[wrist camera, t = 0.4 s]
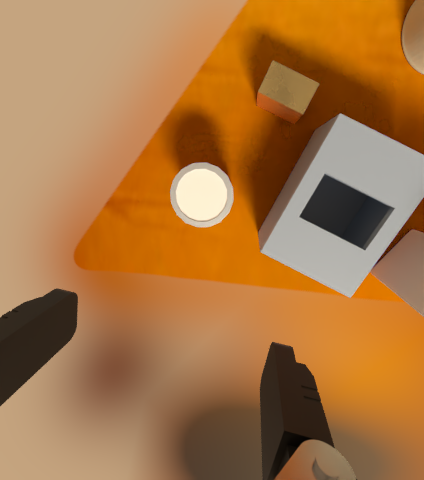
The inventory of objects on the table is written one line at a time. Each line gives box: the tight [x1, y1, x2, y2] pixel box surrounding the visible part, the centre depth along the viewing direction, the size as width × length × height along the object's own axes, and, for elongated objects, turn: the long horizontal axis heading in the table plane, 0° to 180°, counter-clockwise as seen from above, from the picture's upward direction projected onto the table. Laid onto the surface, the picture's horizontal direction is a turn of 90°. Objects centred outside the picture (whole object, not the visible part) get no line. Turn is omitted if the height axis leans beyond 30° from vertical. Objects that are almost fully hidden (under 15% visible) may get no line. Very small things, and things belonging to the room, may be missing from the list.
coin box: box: [258, 113, 424, 298], centre depth 29 cm, size 14×10×9 cm
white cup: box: [170, 162, 233, 227], centre depth 31 cm, size 7×7×7 cm
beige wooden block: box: [256, 60, 320, 124], centre depth 28 cm, size 3×5×6 cm, turn 64°
